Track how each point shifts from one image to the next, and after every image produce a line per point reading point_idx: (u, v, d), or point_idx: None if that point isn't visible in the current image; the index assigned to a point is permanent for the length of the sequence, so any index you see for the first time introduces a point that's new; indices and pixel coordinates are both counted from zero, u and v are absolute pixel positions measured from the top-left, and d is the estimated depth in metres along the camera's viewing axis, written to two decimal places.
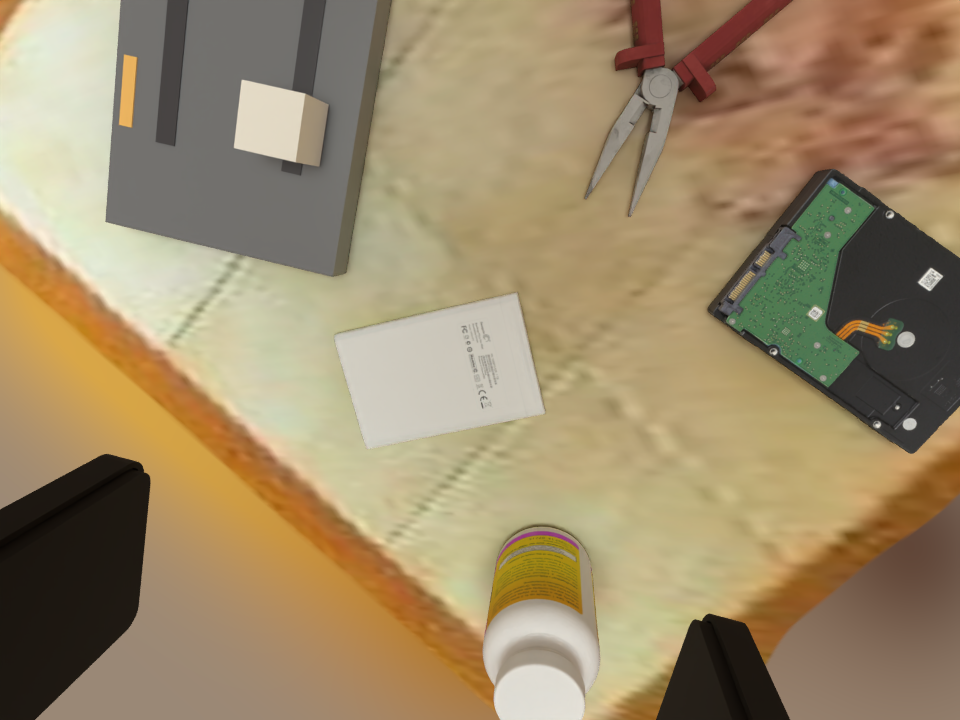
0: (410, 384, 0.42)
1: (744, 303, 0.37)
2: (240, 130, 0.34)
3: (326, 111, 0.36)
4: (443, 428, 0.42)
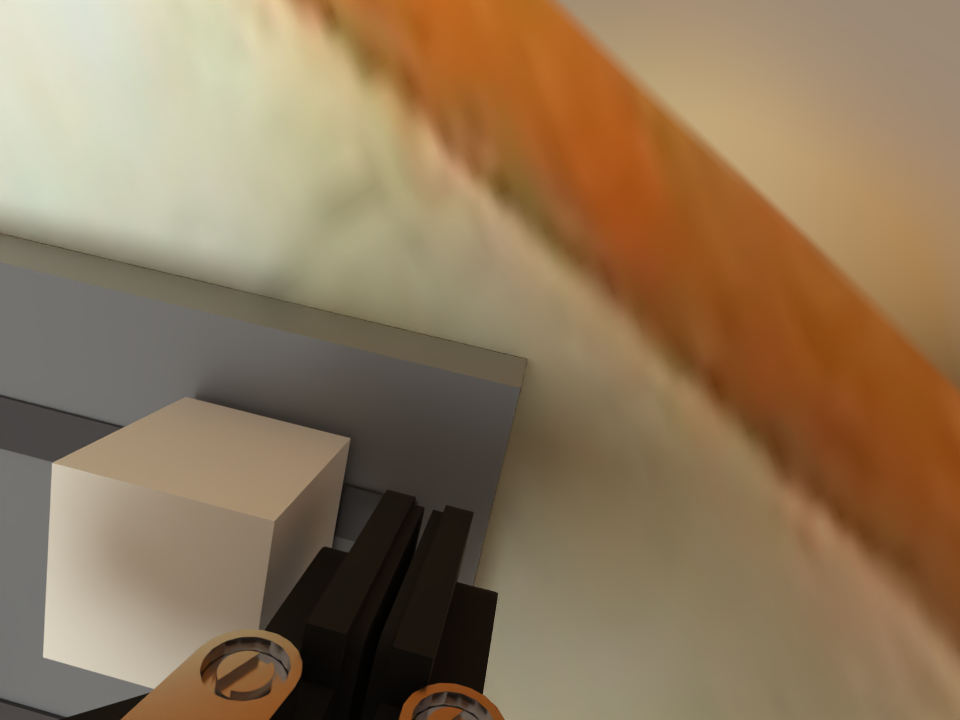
0: None
1: None
2: None
3: None
4: None
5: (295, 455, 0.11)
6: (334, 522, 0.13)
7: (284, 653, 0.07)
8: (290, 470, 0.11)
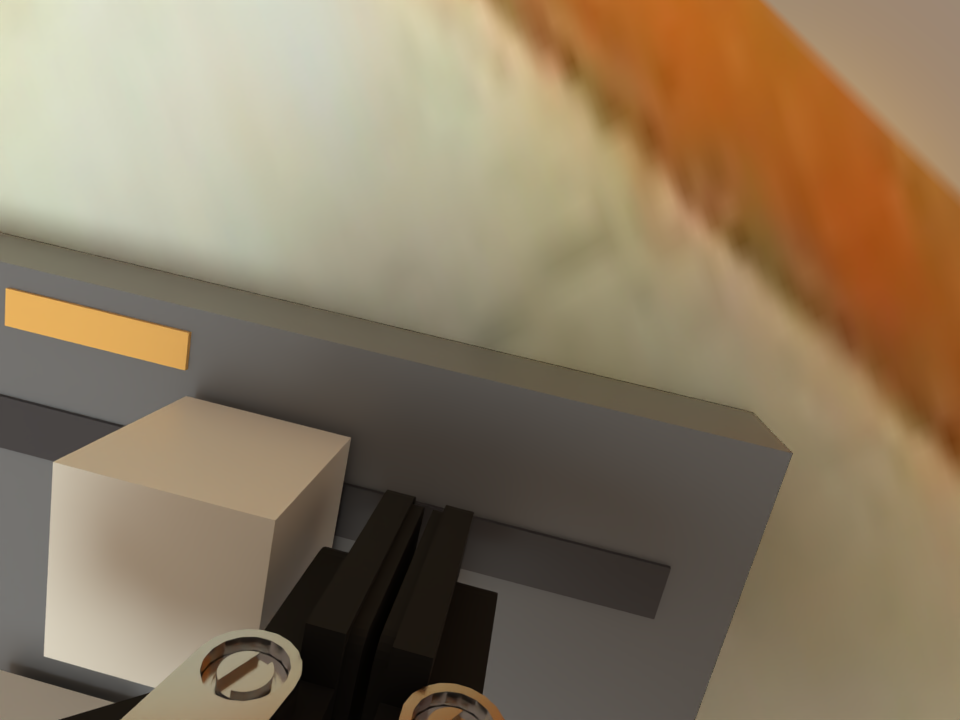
0: None
1: None
2: None
3: None
4: None
5: (296, 454, 0.11)
6: (334, 521, 0.13)
7: (284, 653, 0.07)
8: (291, 469, 0.11)
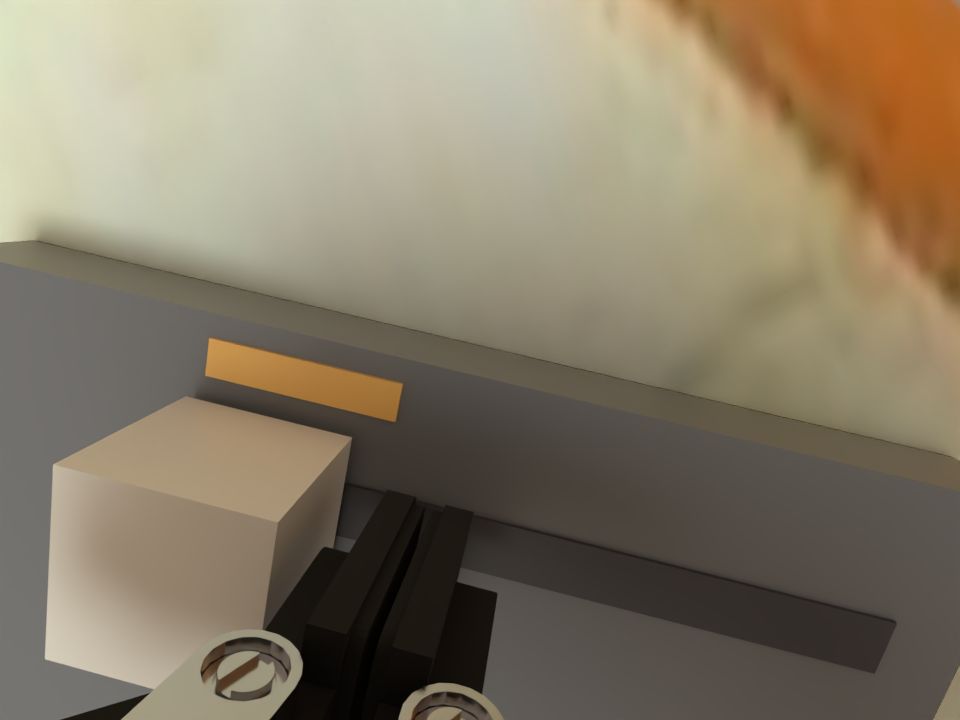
0: None
1: None
2: None
3: None
4: None
5: (297, 455, 0.11)
6: (336, 521, 0.13)
7: (284, 653, 0.07)
8: (292, 470, 0.11)
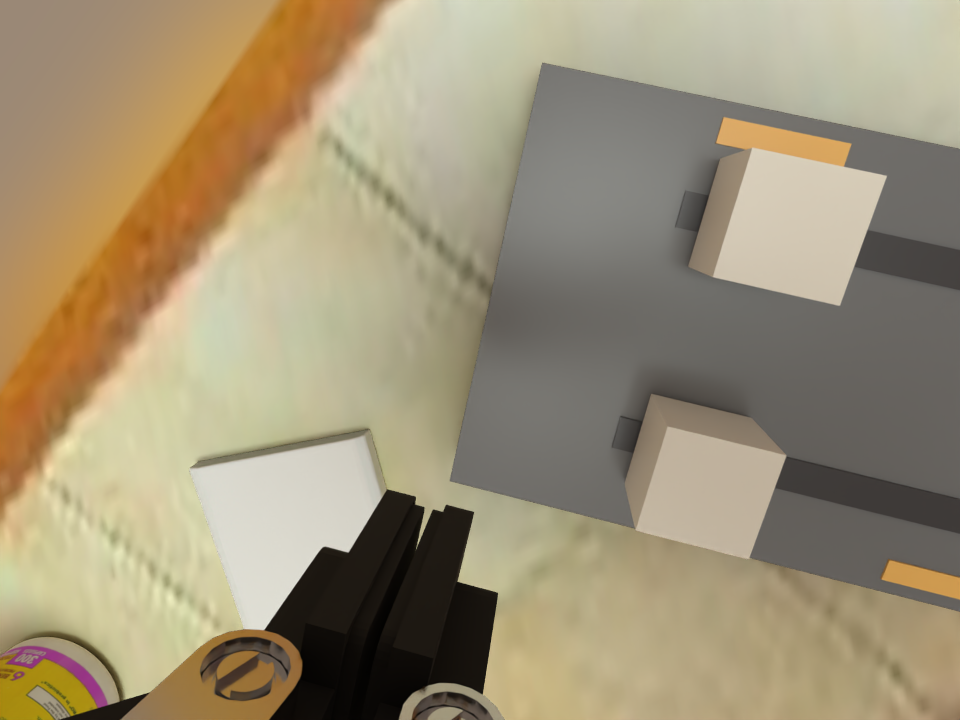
0: (296, 543, 0.27)
1: None
2: (697, 442, 0.19)
3: None
4: (234, 583, 0.28)
5: None
6: None
7: (284, 653, 0.07)
8: None
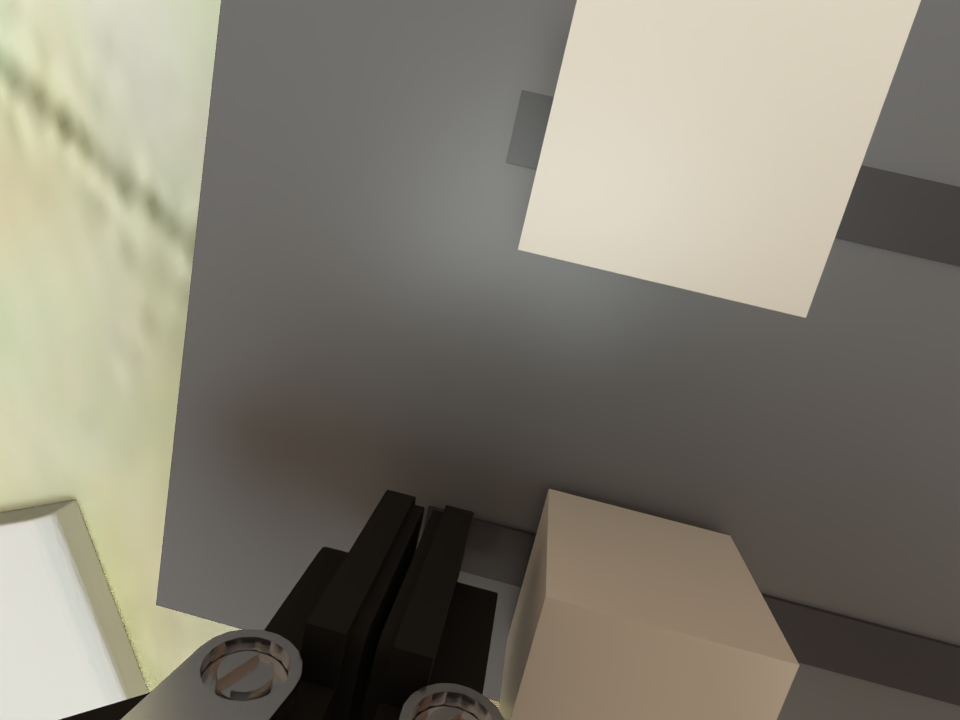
0: None
1: None
2: (609, 631, 0.09)
3: None
4: None
5: None
6: None
7: (284, 653, 0.07)
8: None
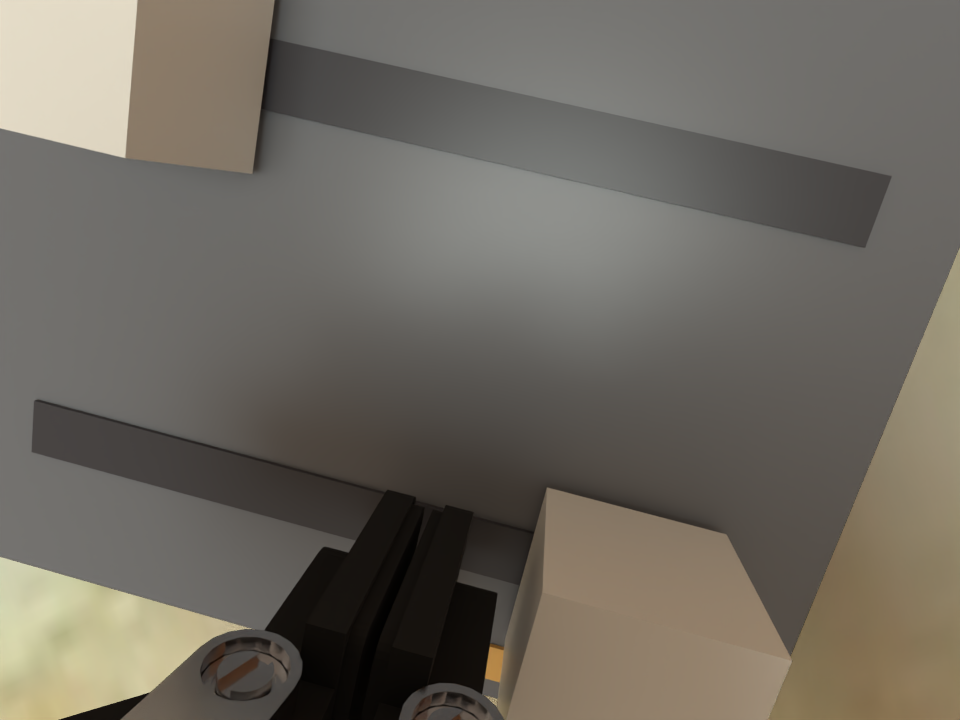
0: None
1: None
2: (605, 626, 0.09)
3: None
4: None
5: None
6: (261, 75, 0.11)
7: (284, 653, 0.07)
8: None
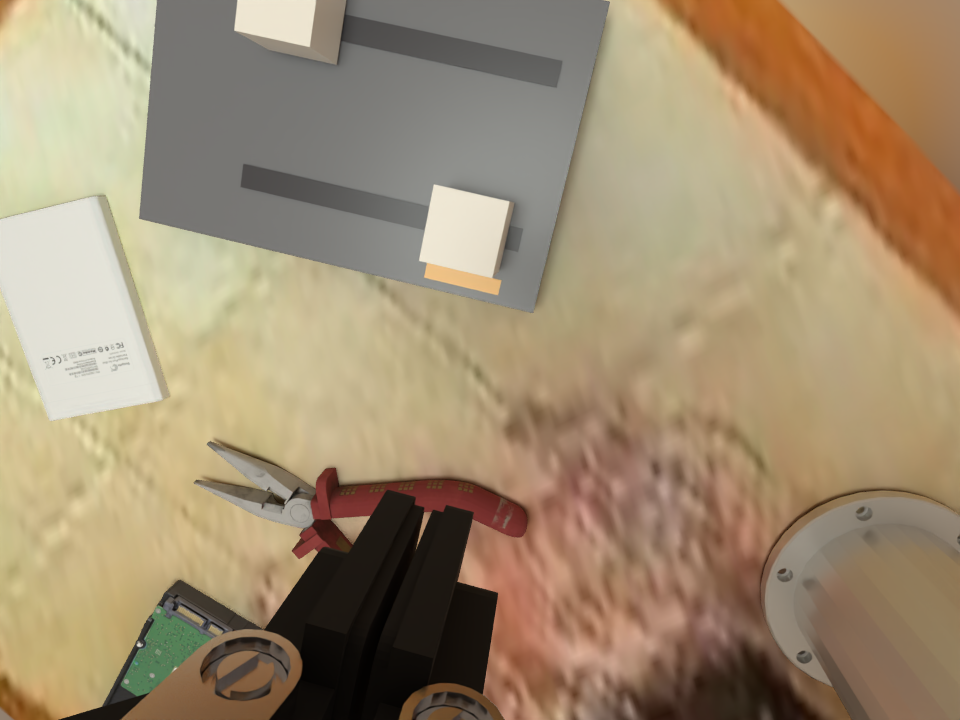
0: (54, 282, 0.38)
1: (175, 619, 0.41)
2: (453, 194, 0.28)
3: None
4: (14, 315, 0.38)
5: None
6: (341, 27, 0.30)
7: (284, 653, 0.07)
8: None
